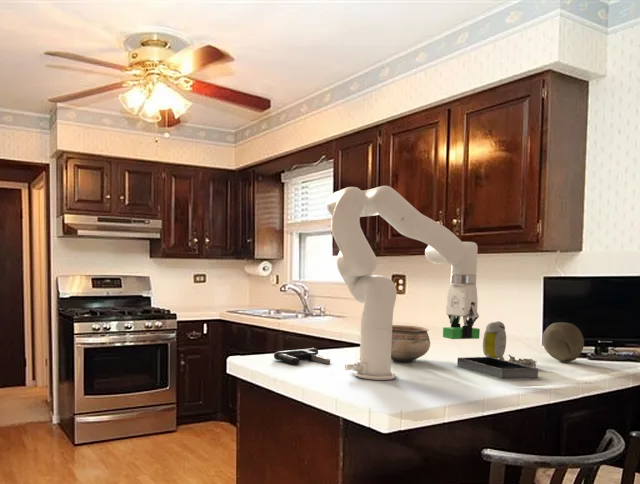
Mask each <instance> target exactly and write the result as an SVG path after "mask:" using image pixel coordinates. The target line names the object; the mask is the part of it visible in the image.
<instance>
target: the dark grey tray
mask: <svg viewBox="0 0 640 484" xmlns="http://www.w3.org/2000/svg"><path fill="white" fill-rule="evenodd" d="M456 364H457V365H456V367H458V368H461V369H466V370H469V371H472V372H475V373H479V374H481V375H486V376H488V377H492V378H495V379H496V378H497V379H499V380H520V379H521V380H523V379H538V378H539V368H537V367H536V368H534V367H530V366H526V365H522V364H518V363H514V362H509V360H505V359H504V360H501V359H499V358H493V357H486V356H482V357H481V356H473V357H471V356H470V357H457V362H456Z"/></svg>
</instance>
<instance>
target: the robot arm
mask: <svg viewBox="0 0 640 484" xmlns="http://www.w3.org/2000/svg"><path fill="white" fill-rule="evenodd" d="M326 208H327V211H328V213H329V214H330V215H331V216H332V217H331V232H332V236H333V239H334V241H335V243H336V246H337V247H338V250H339V252H338V254H337V256H336V265H337V270H338V272H339V274H340V276H341V278H342V279H343V281H344V283H345V285H346V287H347V288H348V291H349V292H350V294H351V295H352V297H353V298H354V299H355V300H356V301H357V302H358V303H361V304H363V308H362V311H361V318H360V337H359V338H360V339H359V360H355V361H356V362H354V363H345V364H344V370H345V371H352V372H353V375H354V376H355V377H357V378H361V379H364V380H365V379H366V380H373V381H374V380H375V381H388V380H389V381H390V380H393V379H395V378H396V373H395V372H393V371H391V369H392V368H391V365H392V359H391V345H392V325H393V321H394V319H393V318H394V311H395V310H394V309H395V305H396V301H397V292H398V291H397V286H396V284H395V283H394V281H393V280H392V279H391V278H389V277H387V276H384V275H379V274H374V271H376V269H377V265H378V259H377V257H376V254H375V252H374V251H373V249H372V246H371V245H370V243H369V241H368V240H367V238H366V236H365V234H364V232H363V229H362V227H361V222H360V221H361V220H360V219H361V218H363V217H372V216H373V217H374V216H380V217H381V218H382V219H383V220H385V221H386V222H387V223H388V224H389V225H390V226H392V227H393V229H395V230H396V231H397V232H398V233H399V234H400V235H402V236H404V237H406V238H409V239H412V240H416V241H420V242H421V243H424V244H426V245H427V247H426V248H425V250H424V256H425V258H426V260H427V261H428V262H429V263H431V264H433V265H451V267H450V268H451V269H450V284H449V286H448V291H447V296H446V304H445V313H446V315H447V316H448V319H449V323H450V327H462V338H472V328H473V326H474V325H475V322H476V321H477V320H478V319H479V318H480V315H479V312H478V288H477V269H478V251H479V250H478V249H479V248H478V244H477V243H476V242H474V241H462V240H461V239H460V238H459V237H458V236H456V234H454V233H453V232H452V231H451V230H450V229H448V228H447V227H446V226H444V225H443V224H441V223H439V222H437V221H435V220H434V219H432V218H430V217H429V216H426V215H425V214H423V213H421V212H420V211H419V210H418V209H416V208H415V206H413V205H412V204H411V203H410V202H409V201H408V200H407V199H405V198H404V197H403V196H402V195H401V194H400V193H399V192H398V191H397V190H395V189H394V188H393V187H391V186H389V185H380V186H378V187H374V188H370V189H365V190H361V189H360V188H359V187H357V186H347V187H345V188H342V189H340V190H337V191H333V193H331V194H330V195H329V197H328V198H327V201H326ZM461 317H462V320H463V325H462V326H461V323H460V321H461Z"/></svg>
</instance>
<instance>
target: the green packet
mask: <svg viewBox="0 0 640 484" xmlns="http://www.w3.org/2000/svg"><path fill="white" fill-rule="evenodd" d="M480 331H481V329H480V328H478V327H472V338H462V326H460V327H451V326H448V327H447V326H446V327H445V326H444V327H442V338H445V339H448V340H449V339H450V340H478V339H480V335H481V334H480V333H481V332H480Z"/></svg>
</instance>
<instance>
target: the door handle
mask: <svg viewBox="0 0 640 484" xmlns="http://www.w3.org/2000/svg"><path fill="white" fill-rule="evenodd" d="M273 358H274V359H275V360H276V361H282V362H285V363H288V364H290V365H294V366H297V365H299V364H300V363H301V362H303V361H309V362H311V361H315V362H319V363H322V364H325V365H330V364H331V358H328V357H324V356H321V355H319V350H318V349H317V348H314V347H312V348H303V349H292V350H281V351H275V352H274V354H273Z"/></svg>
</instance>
